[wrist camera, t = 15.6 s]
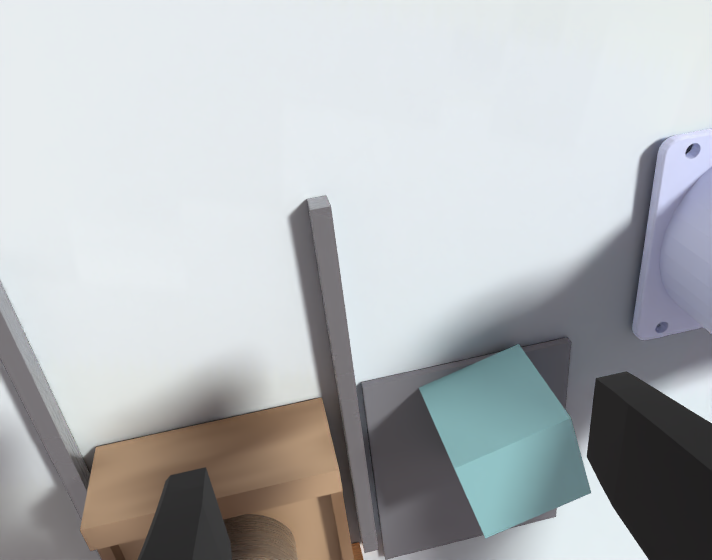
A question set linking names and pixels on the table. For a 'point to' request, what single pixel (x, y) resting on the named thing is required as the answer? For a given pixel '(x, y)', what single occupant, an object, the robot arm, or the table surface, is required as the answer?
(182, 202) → the table surface
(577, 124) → the table surface
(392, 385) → the mat
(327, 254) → the track
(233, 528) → the part
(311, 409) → the brown wooden tray
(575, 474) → the part
